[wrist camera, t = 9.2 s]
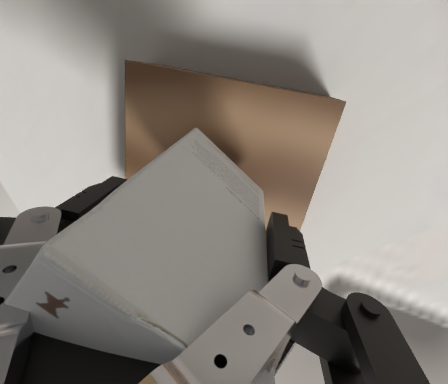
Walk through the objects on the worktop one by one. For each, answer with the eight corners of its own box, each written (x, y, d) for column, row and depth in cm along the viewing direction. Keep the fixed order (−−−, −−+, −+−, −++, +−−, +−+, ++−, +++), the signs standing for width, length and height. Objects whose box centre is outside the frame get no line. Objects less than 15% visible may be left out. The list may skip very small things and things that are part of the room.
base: (150, 63, 20) (125, 60, 16) (330, 97, 19) (346, 101, 15) (146, 198, 25) (125, 218, 21) (286, 229, 24) (290, 256, 20)
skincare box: (157, 171, 17) (-48, 346, 6) (199, 121, 15) (18, 238, 4) (224, 229, 18) (159, 470, 7) (271, 189, 16) (283, 429, 5)
